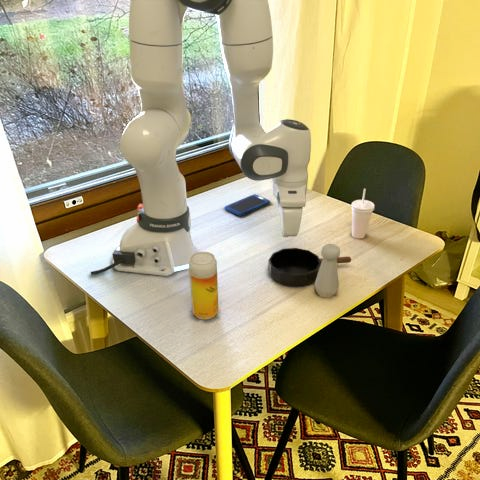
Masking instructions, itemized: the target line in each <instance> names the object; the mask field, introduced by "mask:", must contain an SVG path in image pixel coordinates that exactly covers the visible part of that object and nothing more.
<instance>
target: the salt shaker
mask: <svg viewBox="0 0 480 480" xmlns="http://www.w3.org/2000/svg"><path fill="white" fill-rule="evenodd" d="M320 255H321V257H322V258H323V260H322V263H321V266H320V269H319V272H318V275H317V278H316V281H315V282H314V289H315V292H316V294H317V295H318V296H319V297H320V298H324V299H325V298H326V299H330V298H332V297H334V296H335V295H336V293H337V292H338V291H339V288H340V287H339V286H340V283H339V282H340V281H339V271H338V264H337V258H338V257H341V256H340V255H341V248H340V247H339V246H338V245H337V244H334V243H326V244H325V245H323V246H322V247H321V252H320Z"/></svg>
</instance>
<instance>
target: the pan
mask: <svg viewBox="0 0 480 480" xmlns="http://www.w3.org/2000/svg"><path fill="white" fill-rule="evenodd" d="M322 260H323V257H322V258H320V257H319V255H317V254H316V253H314V252H313V251H311V250H309V249H303V248H299V247H289V248H282V249H279V250H276V251H274V252H273V253H271V255H270V256H269V258H268V262H267V264H268V265H267V267H268V269H267V270H268V275H269V277H270V279H271V280H272V281H273V282H275V283H277V284H278V285H281V286H284V287H290V288H302V287H307V286H310V285H312V284H315V281H316V278H317V275H318V272H319V269H320V266H321V263H322ZM351 262H352V257H351V256H339V257H338V258H337V265H338V264H349V263H351Z"/></svg>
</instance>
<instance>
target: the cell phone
mask: <svg viewBox="0 0 480 480" xmlns="http://www.w3.org/2000/svg"><path fill="white" fill-rule="evenodd" d="M270 203H271V201H270V200H269V199H268V198H265V197H263V196H260V195H258V194H255V193H254V194H251V195H249V196H247V197H243V198H241V199H239V200H237V201H235V202H232V203H230V204H228V205H225V206H224V210H225V211H227V212H230V213H232V214H234V215H236V216H238V217H242V216H245V215H246V214H249V213H251V212H254V211H255V210H257V209H260V208H262V207H265V206H267V205H269V204H270Z"/></svg>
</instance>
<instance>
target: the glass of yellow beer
mask: <svg viewBox="0 0 480 480" xmlns="http://www.w3.org/2000/svg"><path fill="white" fill-rule="evenodd" d="M188 272H189V273H188V274H189V286H190V298H191V299H190V300H191V311H192V314H193V315H194V316H195V317H196V318H197V319H198V320H204V321H206V320H207V321H208V320H211V319H214V318H215V317H216V315H218V313H219V312H220V311H219V288H218V262H217V259H216V257H215V255H214V254H213V253H212V252H208V251H196V253H194V254H193V255H192V256H191V257H190V260H189V268H188Z"/></svg>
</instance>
